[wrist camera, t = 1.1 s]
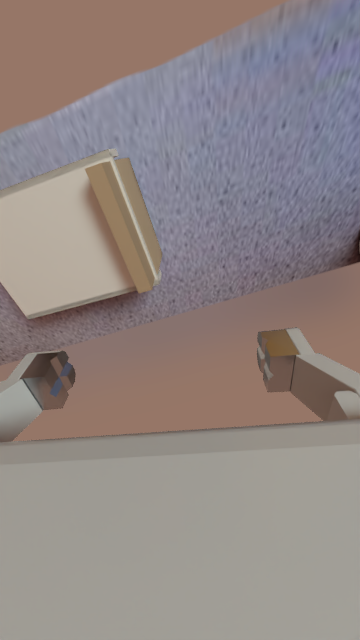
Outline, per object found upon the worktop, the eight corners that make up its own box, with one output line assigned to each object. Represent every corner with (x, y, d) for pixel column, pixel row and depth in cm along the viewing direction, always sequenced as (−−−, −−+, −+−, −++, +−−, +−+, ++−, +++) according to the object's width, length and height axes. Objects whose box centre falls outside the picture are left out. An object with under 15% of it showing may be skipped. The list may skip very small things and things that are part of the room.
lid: (116, 148, 26) (98, 149, 21) (161, 273, 33) (157, 296, 28) (-32, 205, 29) (-78, 217, 24) (39, 307, 36) (15, 333, 31)
